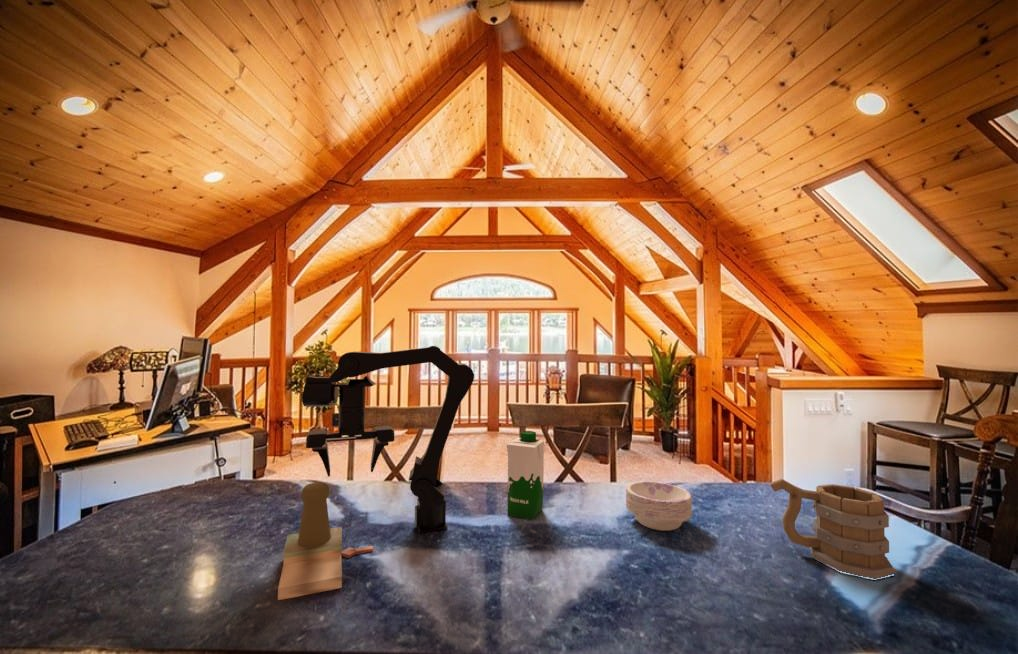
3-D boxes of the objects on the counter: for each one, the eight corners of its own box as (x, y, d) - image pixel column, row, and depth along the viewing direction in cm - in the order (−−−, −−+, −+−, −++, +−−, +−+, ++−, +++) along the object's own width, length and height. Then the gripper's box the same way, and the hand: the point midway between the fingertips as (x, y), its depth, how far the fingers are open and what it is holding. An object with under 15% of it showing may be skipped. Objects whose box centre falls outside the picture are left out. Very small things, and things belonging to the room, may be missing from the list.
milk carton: (546, 508, 111) (547, 432, 111) (535, 522, 102) (536, 439, 103) (515, 503, 114) (516, 429, 115) (502, 516, 106) (503, 436, 106)
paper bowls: (675, 510, 111) (675, 479, 111) (703, 537, 96) (703, 501, 96) (618, 510, 110) (618, 479, 111) (637, 537, 95) (637, 501, 96)
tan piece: (371, 541, 92) (371, 522, 92) (378, 580, 77) (378, 558, 77) (287, 555, 86) (287, 535, 86) (277, 600, 71) (277, 576, 71)
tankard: (880, 556, 88) (879, 483, 88) (901, 587, 77) (900, 504, 77) (768, 534, 97) (767, 469, 98) (772, 559, 86) (772, 485, 87)
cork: (318, 548, 81) (319, 490, 81) (290, 545, 82) (291, 488, 82) (337, 534, 86) (338, 480, 87) (310, 531, 88) (311, 478, 88)
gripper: (389, 399, 109) (388, 460, 108) (309, 402, 102) (308, 468, 101) (395, 405, 98) (394, 473, 98) (306, 410, 91) (304, 482, 91)
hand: (350, 473), depth 97 cm, fingers open, 9 cm apart
